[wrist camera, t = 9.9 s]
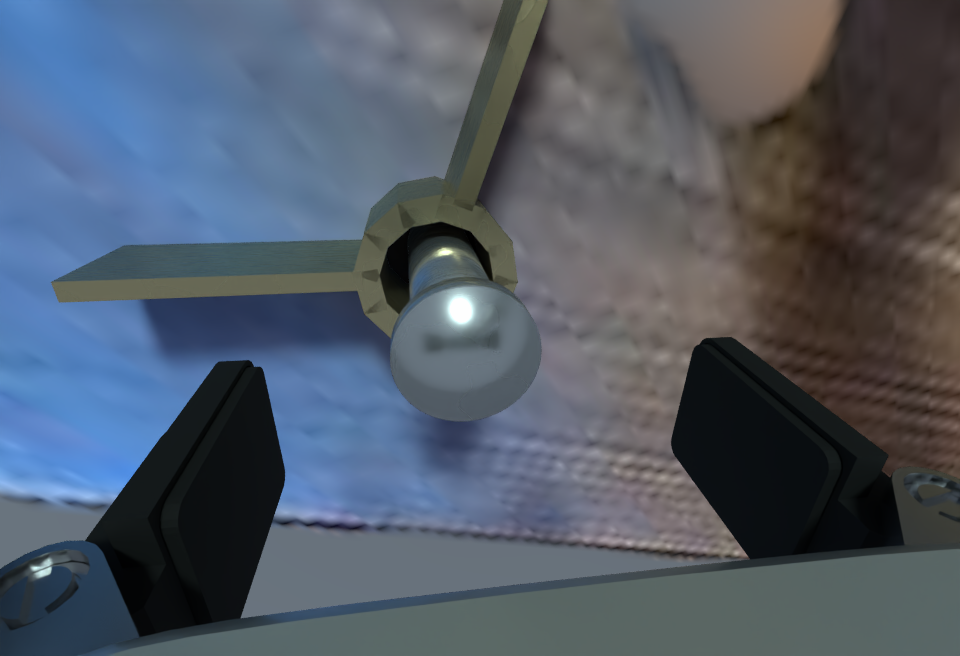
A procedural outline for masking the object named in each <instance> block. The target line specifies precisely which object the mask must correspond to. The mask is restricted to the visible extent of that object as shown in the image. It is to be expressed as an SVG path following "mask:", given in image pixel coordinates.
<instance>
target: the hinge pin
mask: <svg viewBox="0 0 960 656" xmlns="http://www.w3.org/2000/svg"><path fill="white" fill-rule="evenodd" d="M407 247H408V269H409V291H410V301H409V302H408V303H407V304H406V306H405V307H404V308H403V309H402V311H401V312H400V314H399V316H398V318H397V320H396V322H395V325H394V327H393V331H392V335H391V347H390V366H391V371H392V376H393V378H394V381H395V384H396V385H397V387H398V389H399V391H400V392H401V393H402V395H403V396H404V397H405V399H407V400H408V401H409V402H410V403H411V404H412V405H413V406H414V407H416V408H417V409H418V410H420V411H422V412H424V413H425V414H428V415H430V416H433V417H435V418H439V419H442V420H448V421H473V420H479V419H483V418H486V417H489V416H492V415H494V414H497V413H499V412H501V411H503V410H504V409H506V408H508V407H509V406H511V405H512V404H513V403H515V402H516V401H517V400H518V399H519V398H520V397H521V396H522V395H523V394H524V393H525V392H526V391H527V389H528V388H529V386H530V385H531V383H532V382H533V380H534V378H535V376H536V374H537V371H538V368H539V365H540V360H541V339H540V334H539V331H538V329H537V326H536V324H535V322H534V320H533V318H532V317H531V315H530V313H529V312H528V310H527V309H526V307H525V306H524V304H523V303H522V302H521V300H520V299H519V298H518V297H517V296H516V295H515V294H514V293H512V292H511V291H510V290H508V289H507V288H505V287H504V286H502V285H500V284H498V283H495V282H493V281H490V280H489V279H488V277H487V275H486V273H485V271H484V269H483V267H482V265H481V263H480V261H479V259H478V257H477V255H476V253H475V251H474V249H473V247H472V245H471V243H470V241H469V239H468V237H467V235H466V233H465V231H464V230H463V229H462V228H459V227H457V226H454V225H451V224H448V223H445V222H442V221H441V222H435V223H430V224H425V225H420V226H415V227H412V229H411V231H410V233H409V236H408V241H407Z"/></svg>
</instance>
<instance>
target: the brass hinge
mask: <svg viewBox="0 0 960 656" xmlns="http://www.w3.org/2000/svg"><path fill="white" fill-rule="evenodd" d="M547 2H548V0H504V1H503V4H502V7H501V10H500V13H499V16H498V19H497V22H496V25H495V28H494V31H493V34H492V37H491V40H490V43H489V46H488V50H487V53H486V56H485V59H484V62H483V65H482V68H481V71H480V74H479V77H478V80H477V83H476V86H475V89H474V92H473V95H472V98H471V101H470V104H469V107H468V110H467V113H466V116H465V119H464V122H463V125H462V128H461V131H460V134H459V137H458V140H457V143H456V146H455V149H454V152H453V155H452V158H451V161H450V164H449V167H448V170H447V173H446V176H445V179H444V180H443V179H440V178H438V177H436V176H434V177H429V178H424V179H419V180H414V181H408V182H403V183H398V184H397V185H396V186H395V187H394V188H393V189H392V190H391V191H390V192H389V193H388V194H386V195H385V196H384V197H383V198H382V199H381V200H380V201H379V202H378V203H377V204H375V205H374V206H373V207H372V208H371V211H370V214H369V217H368V221H367V224H366V227H365V231H364V236H363V239H362V240H334V241H293V242H252V243H212V244H171V245H130V246H122V247H120V248H118V249H116V250H114V251H112V252H110V253H108V254H106V255H104V256H102V257H100V258H98V259H96V260H94V261H92V262H90V263H88V264H86V265H84V266H82V267H80V268H78V269H76V270H74V271H72V272H70V273H68V274H66V275H64V276H62V277H60V278H58V279H56V280H54V281H52V282H51V283H52V286H53V288H54V291H55V294H56V296H57V299H58V301H59V302H85V301H110V300H136V299H161V298H187V297H212V296H238V295H264V294H289V293H315V292H340V291H358V294H359V298H360V301H361V304H362V308H363V311H364V315H366V316H367V317H368V318H369V319H370V320H371V321H372V322H374V323H375V324H376V325H377V326H378V327H379V328H380V329H381V330H382V331H383V332H384V333H385V334H386V335H388V336H389V337H390V338H391V335H392V331H393V327H394V325H395V322H396V320H397V318H398V316H399V314H400V312H401V311H402V309H403V308H404V307H405V306H406V304H407V303H408V302H409V301H410V291H409V284H408V283H406V282H405V281H404V280H403V279H402V278H401V277H400V276H399V275H398V274H397V273H396V272H395V271H394V270H393V269H392V268H391V267H390V266H389V262H388V258H387V254H386V252H387V249H388V247H389V246H390V245H391V244H393V243H394V242H395V241H396V240H397V239H398V238H399V237H400V236H402V235H403V234H404V233H405V232H406V231H407V230H408V229H409V228H411V227H415V226H420V225H425V224H430V223H435V222H441V221H442V222H445V223H448V224H451V225H454V226H457V227H459V228H462V229H465V230H468V231H471V233H472V234H473V235H474V236H475V242H476V248H477V249H476V252H475V253H476V255H477V257H478V259H479V261H480V263H481V265H482V267H483V269H484V271H485V273H486V275H487V277H488V279H489V280H490V281H493V282H495V283H498V284H500V285H502V286H504V287H505V288H507V289H508V290H510V291H511V292H512V293H513V292H514V290H515V287H516V285H517V283H518V281H517V273H516V266H515V258H514V251H513V242H512V241H511V239H510V238H509V237H508V236H507V234H506V233H505V232H504V231H503V230H502V228H501V227H500V226H499V225H498V223H497V222H496V221H495V220H494V219H493V217H492V216H491V215H490V214H489V213H488V212H487V210H486V209H485V207H484V206H483V205H482V204H481V202H480V201H479V200H478V199H477V197H478V194H479V191H480V188H481V185H482V183H483V180H484V177H485V174H486V172H487V169H488V166H489V163H490V160H491V158H492V155H493V152H494V149H495V147H496V144H497V141H498V138H499V136H500V133H501V130H502V127H503V124H504V122H505V119H506V116H507V113H508V111H509V108H510V105H511V102H512V99H513V97H514V94H515V91H516V88H517V86H518V83H519V80H520V77H521V75H522V72H523V69H524V66H525V63H526V61H527V58H528V55H529V52H530V50H531V47H532V44H533V41H534V38H535V36H536V33H537V30H538V27H539V25H540V22H541V19H542V16H543V14H544V11H545V8H546V5H547Z"/></svg>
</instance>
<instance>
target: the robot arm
mask: <svg viewBox="0 0 960 656" xmlns="http://www.w3.org/2000/svg"><path fill="white" fill-rule="evenodd" d="M671 446H672V450H673V453H674V455H675V457H676V458H677V459H678V461H679V462H680V463H681V465H682V466H683V468H684V469H685V470H686V472H687V473H688V474H689V476H690V477H691V479H692V480H693V481H694V483H695V484H696V485H697V487H698V488H699V489H700V491H701V492H702V494H703V495H704V496H705V498H706V499H707V500H708V502H709V503H710V505H711V506H712V507H713V509H714V510H715V511H716V513H717V514H718V516H719V517H720V518H721V520H722V521H723V522H724V524H725V525H726V527H727V528H728V529H729V531H730V532H731V533H732V535H733V536H734V538H735V539H736V540H737V542H738V543H739V544H740V546H741V547H742V548H743V550H744V551H745V553H746V554H747V555H748V557H749V558H750V560H741V561H731V562H722V563H712V564H702V565H693V566H684V567H674V568H665V569H656V570H647V571H637V572H628V573H619V574H611V575H601V576H592V577H583V578H574V579H565V580H556V581H547V582H538V583H529V584H520V585H511V586H502V587H493V588H485V589H476V590H467V591H459V592H450V593H441V594H433V595H424V596H416V597H407V598H398V599H390V600H381V601H373V602H364V603H355V604H347V605H338V606H331V607H323V608H316V609H308V610H301V611H294V612H285V613H278V614H271V615H263V616H256V617H248V618H241V615H242V612H243V609H244V605H245V603H246V600H247V596H248V593H249V590H250V587H251V584H252V581H253V578H254V575H255V572H256V569H257V566H258V563H259V560H260V557H261V554H262V551H263V547H264V545H265V542H266V539H267V536H268V533H269V530H270V527H271V524H272V520H273V517H274V514H275V511H276V508H277V505H278V502H279V499H280V496H281V493H282V490H283V487H284V482H285V468H284V463H283V459H282V454H281V449H280V445H279V440H278V436H277V431H276V426H275V422H274V417H273V413H272V408H271V403H270V399H269V394H268V389H267V385H266V380H265V376H264V372H263V369H262V368H261V367H254V365H253V364H252V362H251V361H250V360H243V361H223V362H218V363H217V364H216V365H215V366H214V368H213V369H212V370H211V372H210V373H209V374H208V376H207V377H206V378H205V380H204V381H203V383H202V384H201V385H200V387H199V388H198V389H197V391H196V392H195V394H194V395H193V396H192V398H191V399H190V400H189V402H188V403H187V404H186V406H185V407H184V409H183V410H182V411H181V413H180V414H179V415H178V417H177V418H176V420H175V421H174V422H173V424H172V425H171V426H170V428H169V429H168V430H167V432H166V433H165V434H164V435H163V436H162V437H161V438H160V439H159V441H158V442H157V443H156V445H155V446H154V448H153V449H152V450H151V452H150V453H149V454H148V456H147V457H146V458H145V460H144V461H143V462H142V464H141V465H140V467H139V468H138V469H137V471H136V472H135V473H134V475H133V476H132V477H131V479H130V480H129V482H128V483H127V484H126V486H125V487H124V488H123V490H122V491H121V492H120V494H119V495H118V496H117V498H116V499H115V501H114V502H113V503H112V505H111V506H110V507H109V509H108V510H107V511H106V513H105V514H104V516H103V517H102V518H101V520H100V521H99V522H98V524H97V525H96V527H95V528H94V529H93V531H92V532H91V533H90V535H89V536H88V537H87V539H86V540H85V541H83V540H82V541H64V542H60V543H55V544H51V545H47V546H44V547H42V548H40V549H37V550H34V551H32V552H30V553H27V554H25V555H23V556H21V557H20V558H18V559H16V560H14V561H12V562H10V563H9V564H7V565H5V566H4V567H2V568H1V569H0V656H960V479H958V478H956V477H953V476H951V475H948V474H945V473H943V472H940V471H936V470H932V469H927V468H923V467H910V466H909V467H903V468H898V469H897V470H896V471H894V472H893V473H892V475H891V477H888V476H887V475H886V474H885V473H883V472H882V471H881V470H882V468H883V466H884V464H885V462H886V460H887V458H888V456H889V455H888V454H887V453H885V452H884V451H883V450H881V449H880V448H879V447H877V446H876V445H875V444H873V443H872V442H871V441H869V440H868V439H867V438H865V437H864V436H863V435H861V434H860V433H859V432H857V431H856V430H855V429H854V428H852V427H851V426H850V425H848V424H847V423H846V422H844V421H843V420H842V419H840V418H839V417H838V416H836V415H835V414H834V413H832V412H831V411H830V410H828V409H827V408H826V407H824V406H823V405H822V404H820V403H819V402H818V401H816V400H815V399H814V398H812V397H811V396H810V395H808V394H807V393H806V392H804V391H803V390H802V389H801V388H799V387H798V386H797V385H795V384H794V383H793V382H791V381H790V380H789V379H787V378H786V377H785V376H783V375H782V374H781V373H779V372H778V371H777V370H775V369H774V368H773V367H771V366H770V365H769V364H767V363H766V362H765V361H763V360H762V359H761V358H759V357H758V356H757V355H755V354H754V353H753V352H752V351H750V350H749V349H748V348H746V347H745V346H744V345H742V344H741V343H740V342H738V341H737V340H736V339H734V338H732V337H721V338H705V339H704V340H702V341H701V343H700V345H697V346H695V348H694V350H693V352H692V356H691V361H690V365H689V369H688V373H687V377H686V381H685V385H684V389H683V393H682V397H681V402H680V406H679V410H678V414H677V418H676V422H675V426H674V430H673V434H672V439H671Z"/></svg>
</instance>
